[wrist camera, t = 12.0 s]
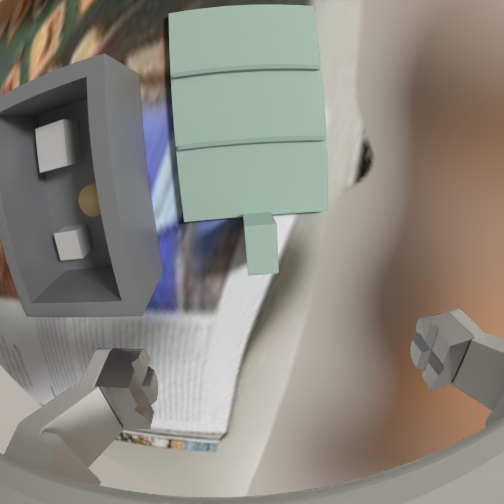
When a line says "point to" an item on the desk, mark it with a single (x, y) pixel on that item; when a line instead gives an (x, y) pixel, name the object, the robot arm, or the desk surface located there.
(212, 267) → the desk surface
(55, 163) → the tub
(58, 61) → the desk surface
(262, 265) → the lid
